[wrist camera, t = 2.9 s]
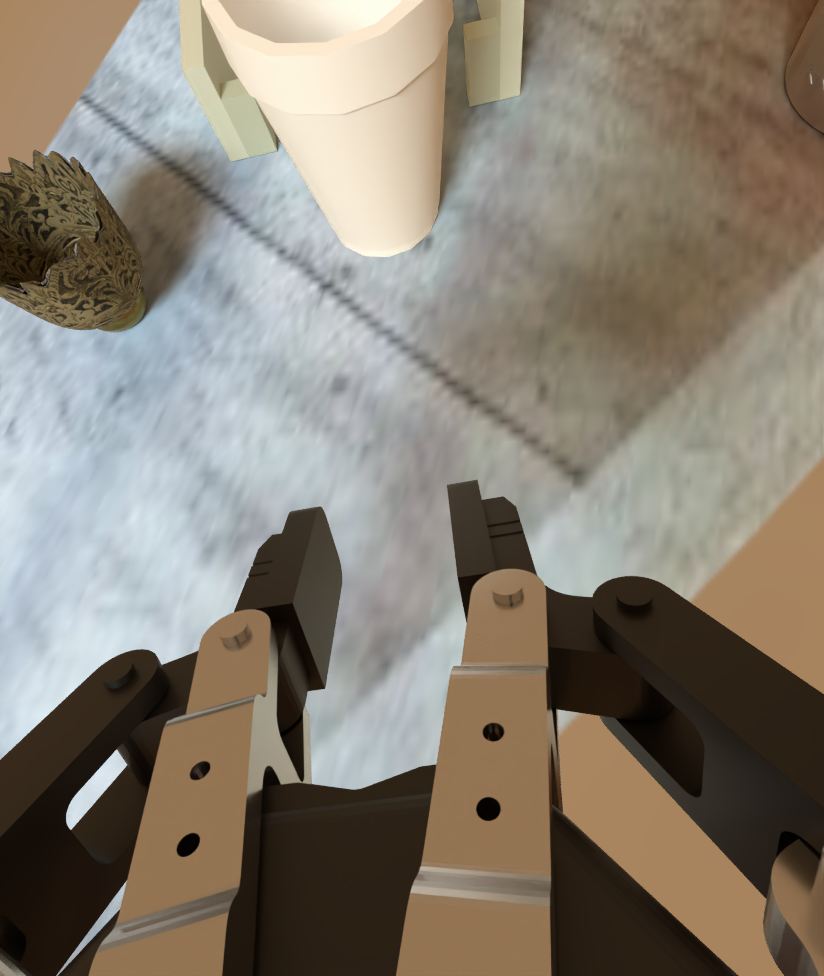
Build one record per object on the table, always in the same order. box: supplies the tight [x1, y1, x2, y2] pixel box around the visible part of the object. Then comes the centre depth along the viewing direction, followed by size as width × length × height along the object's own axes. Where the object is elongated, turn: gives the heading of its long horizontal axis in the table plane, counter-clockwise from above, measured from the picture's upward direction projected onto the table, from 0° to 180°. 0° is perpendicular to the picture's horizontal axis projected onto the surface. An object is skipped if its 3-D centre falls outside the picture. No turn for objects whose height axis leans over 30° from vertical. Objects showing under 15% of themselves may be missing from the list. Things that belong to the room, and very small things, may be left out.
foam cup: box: [202, 0, 454, 257], centre depth 28 cm, size 10×9×13 cm
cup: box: [0, 150, 147, 332], centre depth 31 cm, size 8×7×8 cm
